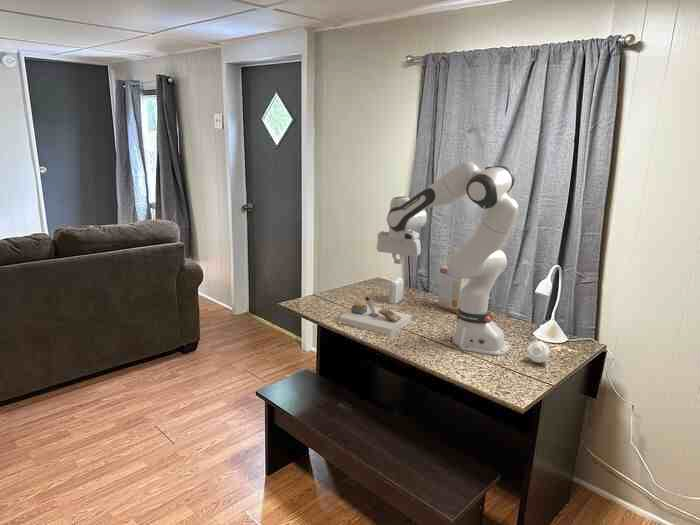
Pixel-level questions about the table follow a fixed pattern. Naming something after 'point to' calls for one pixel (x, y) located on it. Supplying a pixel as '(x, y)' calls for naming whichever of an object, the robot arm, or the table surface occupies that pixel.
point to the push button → (359, 304)
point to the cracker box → (450, 290)
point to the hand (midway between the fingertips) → (397, 263)
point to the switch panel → (374, 320)
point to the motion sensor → (538, 352)
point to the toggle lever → (370, 304)
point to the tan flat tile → (389, 314)
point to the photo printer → (396, 290)
